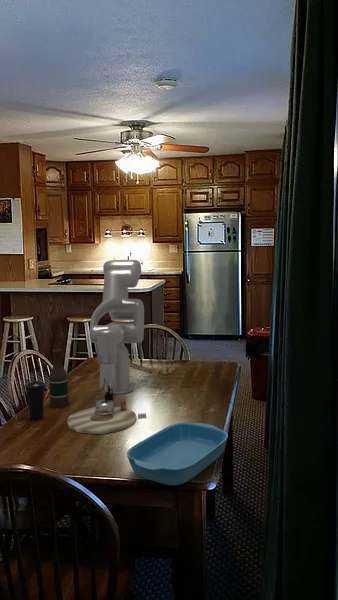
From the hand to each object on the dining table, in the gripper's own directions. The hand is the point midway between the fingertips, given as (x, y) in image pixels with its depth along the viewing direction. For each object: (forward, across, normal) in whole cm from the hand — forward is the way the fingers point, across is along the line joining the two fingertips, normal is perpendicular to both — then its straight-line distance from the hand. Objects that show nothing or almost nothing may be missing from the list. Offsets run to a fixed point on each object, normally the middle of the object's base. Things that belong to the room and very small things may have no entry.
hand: (109, 402), depth 214 cm
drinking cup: (+3, +11, -27) cm, 29 cm away
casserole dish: (+3, +51, +32) cm, 60 cm away
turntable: (+2, +15, 0) cm, 15 cm away
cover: (+1, +9, 0) cm, 9 cm away
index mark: (+2, +10, +15) cm, 18 cm away
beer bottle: (+3, -4, -22) cm, 23 cm away
